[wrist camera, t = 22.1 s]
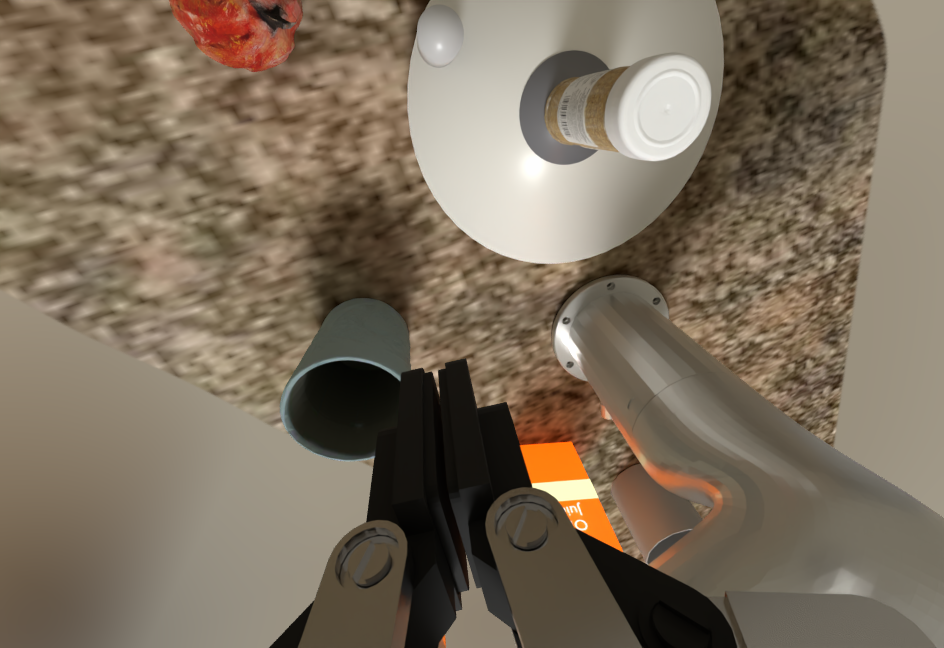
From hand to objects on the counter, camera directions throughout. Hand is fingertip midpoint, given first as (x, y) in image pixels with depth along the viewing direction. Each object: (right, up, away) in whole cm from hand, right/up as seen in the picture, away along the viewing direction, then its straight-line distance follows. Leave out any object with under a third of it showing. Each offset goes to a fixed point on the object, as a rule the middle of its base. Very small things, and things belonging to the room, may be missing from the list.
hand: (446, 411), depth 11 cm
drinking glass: (-10, +1, +31) cm, 33 cm away
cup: (+24, -20, +46) cm, 56 cm away
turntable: (+8, +20, +24) cm, 32 cm away
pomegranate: (-15, +24, +19) cm, 34 cm away
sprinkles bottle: (+8, +18, +20) cm, 29 cm away
